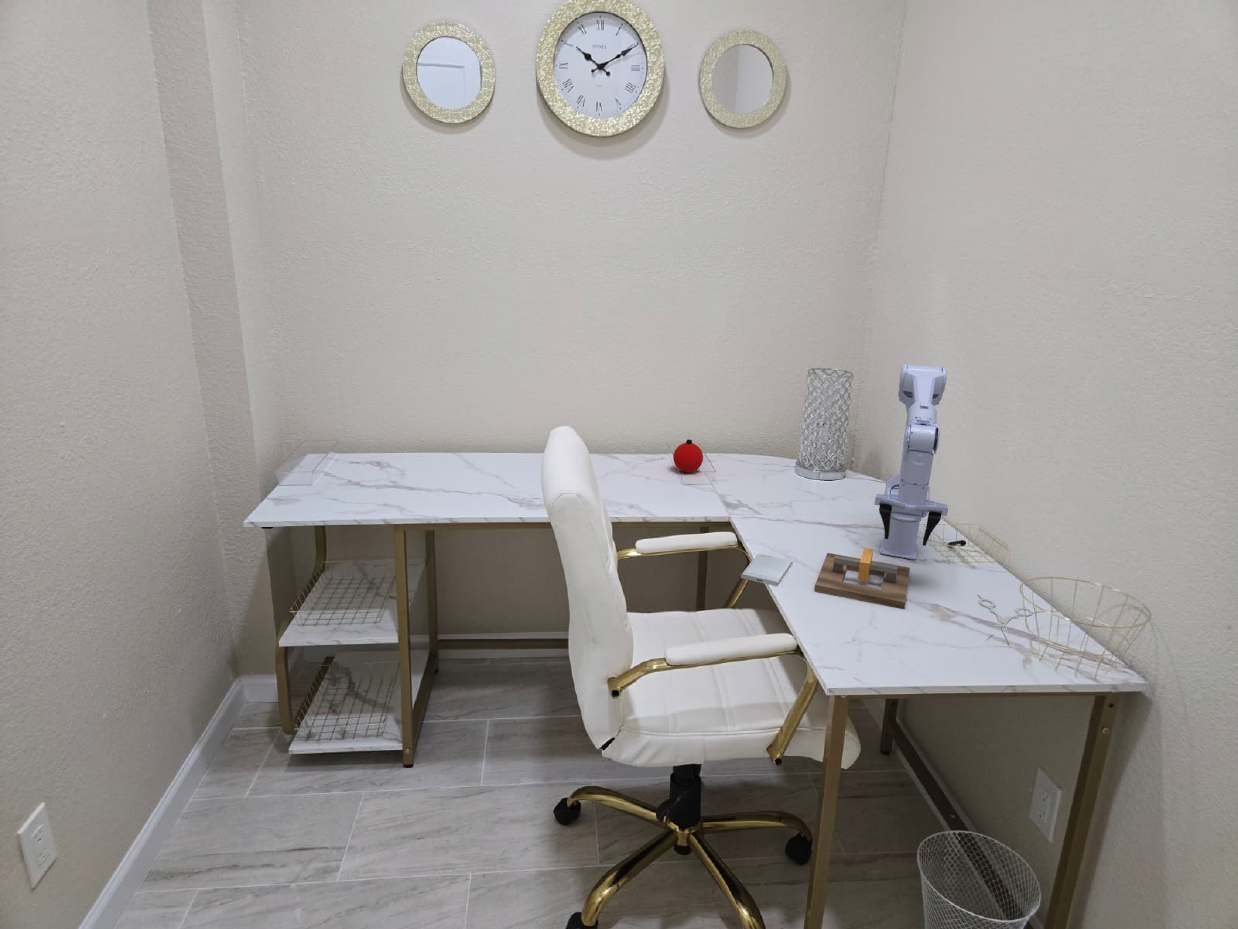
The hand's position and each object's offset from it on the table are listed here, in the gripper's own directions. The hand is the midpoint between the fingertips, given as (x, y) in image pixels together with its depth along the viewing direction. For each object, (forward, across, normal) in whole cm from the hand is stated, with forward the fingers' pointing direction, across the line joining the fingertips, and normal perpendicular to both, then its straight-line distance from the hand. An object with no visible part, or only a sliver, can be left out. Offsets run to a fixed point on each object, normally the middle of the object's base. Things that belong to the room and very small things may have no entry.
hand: (905, 540), depth 170 cm
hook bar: (+8, -7, -5) cm, 12 cm away
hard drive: (+10, -27, -8) cm, 30 cm away
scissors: (+10, +20, -10) cm, 25 cm away
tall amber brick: (+8, -7, -4) cm, 11 cm away
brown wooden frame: (+9, -7, -5) cm, 13 cm away
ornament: (+10, -65, +50) cm, 82 cm away
